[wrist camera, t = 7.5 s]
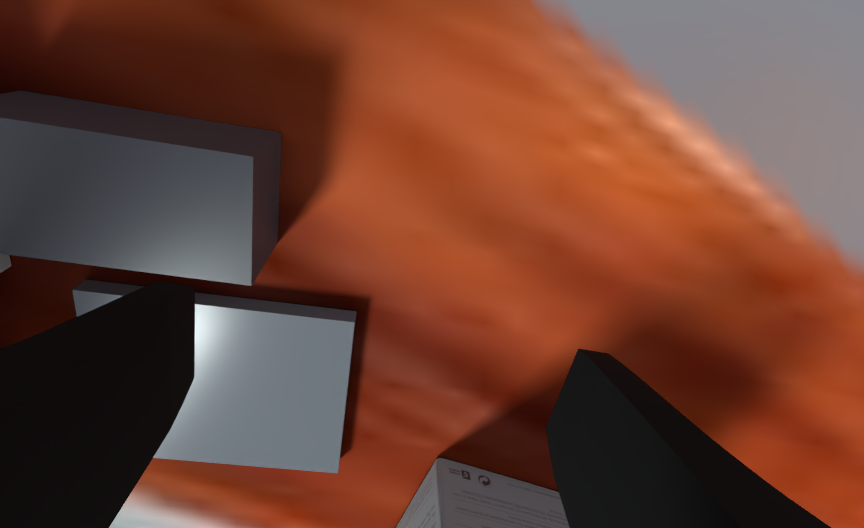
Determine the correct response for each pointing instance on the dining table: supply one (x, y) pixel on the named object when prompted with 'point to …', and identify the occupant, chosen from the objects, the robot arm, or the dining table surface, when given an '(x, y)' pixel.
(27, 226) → the plug
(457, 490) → the supplement box
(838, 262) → the dining table surface
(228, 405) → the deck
